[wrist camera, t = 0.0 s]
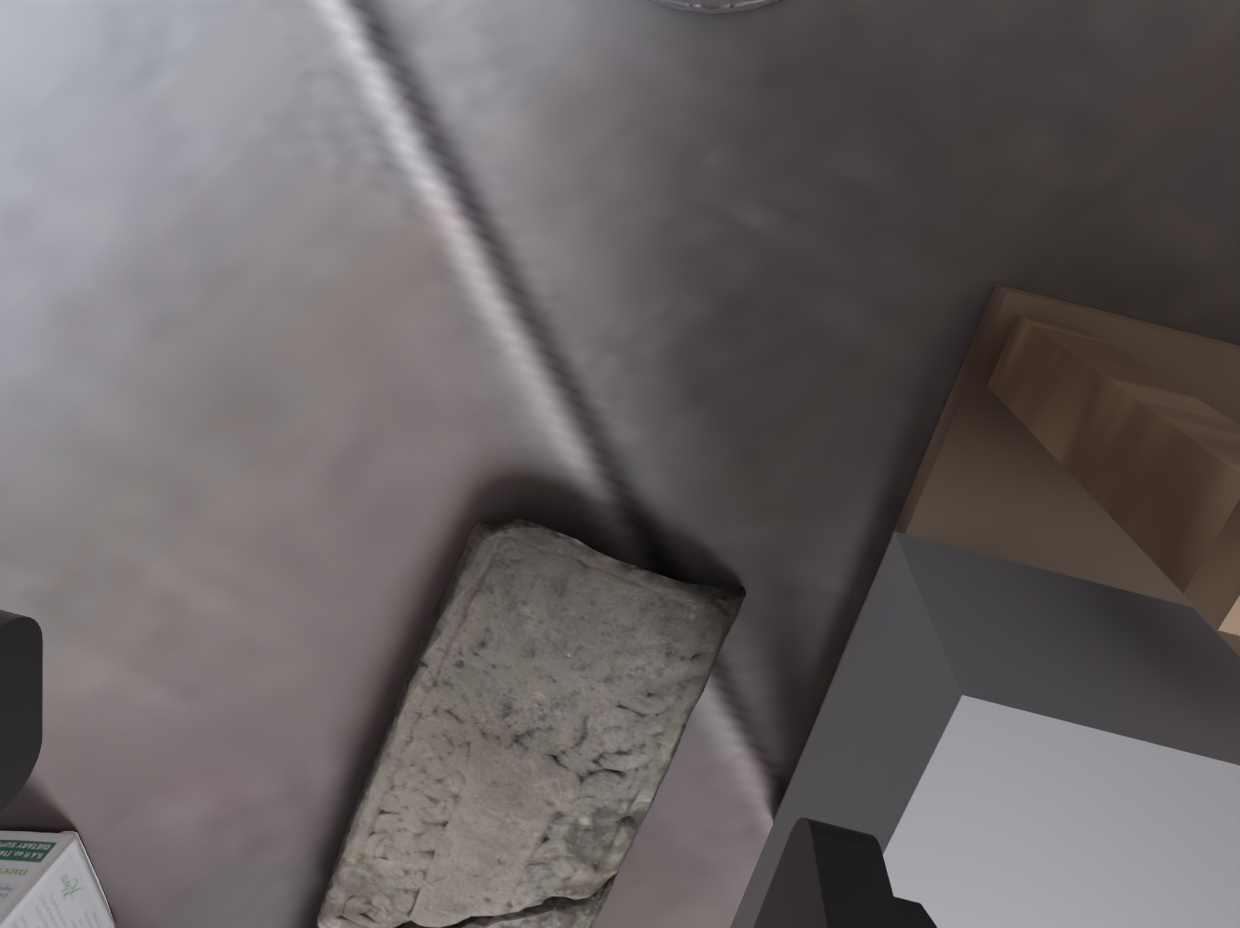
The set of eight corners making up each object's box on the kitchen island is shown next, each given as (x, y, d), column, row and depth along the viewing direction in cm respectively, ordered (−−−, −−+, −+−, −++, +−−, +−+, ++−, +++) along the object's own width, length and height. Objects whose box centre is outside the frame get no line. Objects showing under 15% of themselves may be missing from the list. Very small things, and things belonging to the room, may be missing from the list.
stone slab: (782, 628, 26) (470, 1176, 37) (775, 577, 29) (488, 1098, 40) (462, 495, 25) (243, 1090, 36) (488, 457, 28) (278, 1018, 39)
